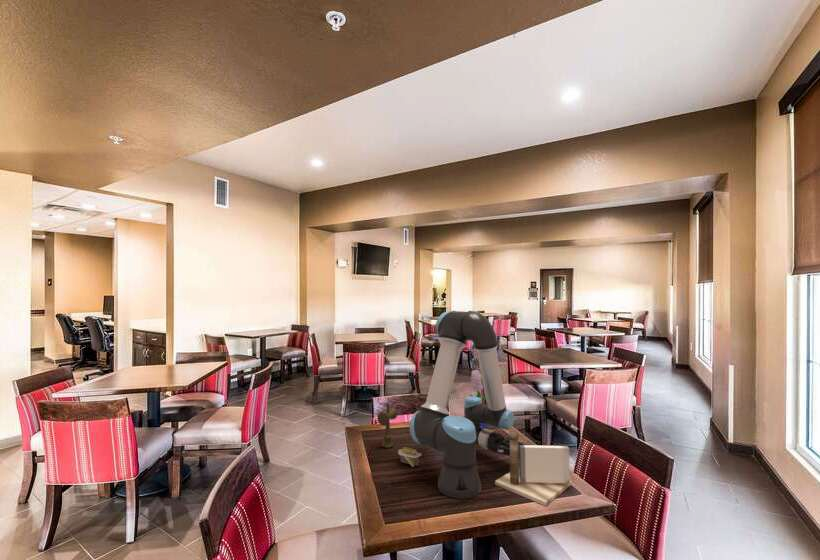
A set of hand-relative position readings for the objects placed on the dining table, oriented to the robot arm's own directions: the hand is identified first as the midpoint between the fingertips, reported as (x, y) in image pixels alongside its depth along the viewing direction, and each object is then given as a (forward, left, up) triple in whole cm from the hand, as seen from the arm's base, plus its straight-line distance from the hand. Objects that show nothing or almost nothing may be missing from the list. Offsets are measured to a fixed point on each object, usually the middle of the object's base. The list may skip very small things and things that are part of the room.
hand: (545, 459), depth 134 cm
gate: (-4, -1, -6) cm, 7 cm away
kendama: (-21, +64, -8) cm, 68 cm away
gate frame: (-5, +2, -8) cm, 10 cm away
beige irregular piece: (-27, +45, -9) cm, 53 cm away
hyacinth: (+29, +49, -8) cm, 58 cm away
